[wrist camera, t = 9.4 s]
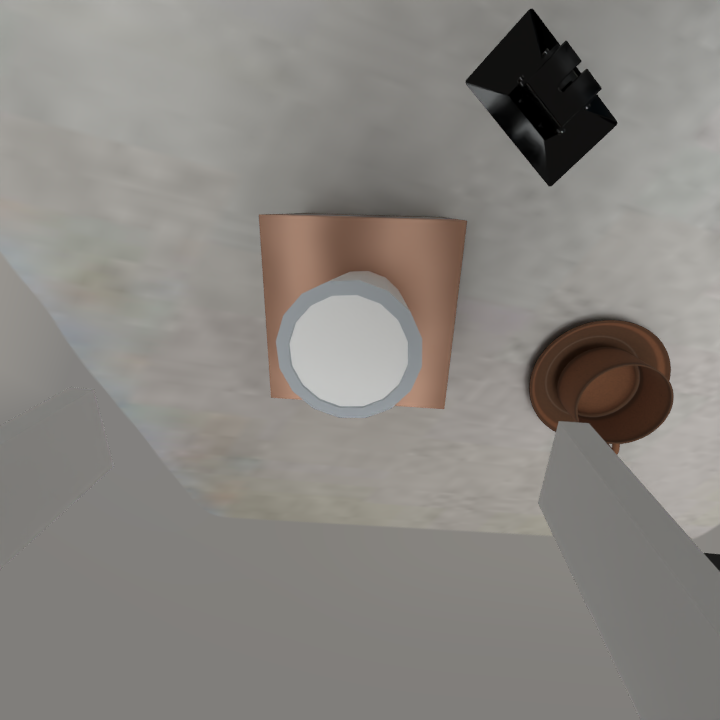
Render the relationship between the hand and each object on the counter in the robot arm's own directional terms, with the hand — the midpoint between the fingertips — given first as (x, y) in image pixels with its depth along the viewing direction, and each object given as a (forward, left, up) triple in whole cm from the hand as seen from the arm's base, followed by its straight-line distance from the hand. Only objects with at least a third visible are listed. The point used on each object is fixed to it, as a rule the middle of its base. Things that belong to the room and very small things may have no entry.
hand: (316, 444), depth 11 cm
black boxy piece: (-12, -14, -27) cm, 33 cm away
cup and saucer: (-21, +8, -27) cm, 35 cm away
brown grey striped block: (0, 0, -26) cm, 26 cm away
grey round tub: (0, 0, -14) cm, 14 cm away
